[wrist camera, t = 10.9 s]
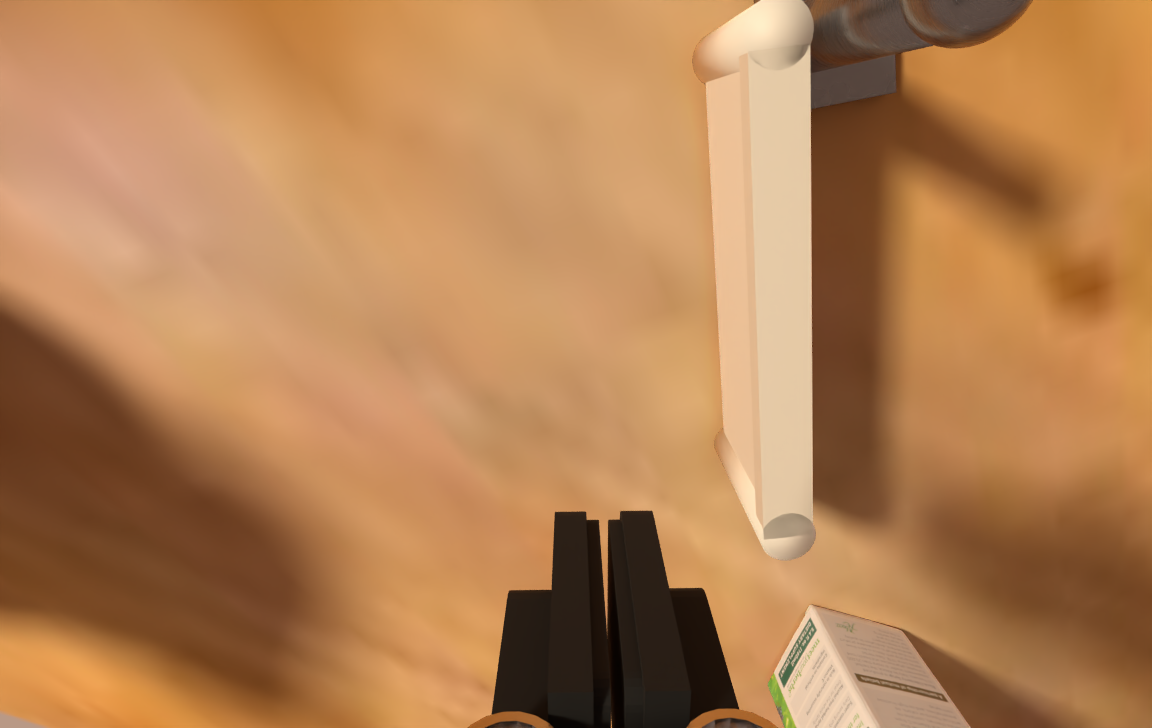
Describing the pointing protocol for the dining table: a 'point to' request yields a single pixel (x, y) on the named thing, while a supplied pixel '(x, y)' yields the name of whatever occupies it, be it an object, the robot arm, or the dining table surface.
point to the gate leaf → (764, 262)
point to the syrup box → (857, 678)
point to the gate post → (891, 39)
